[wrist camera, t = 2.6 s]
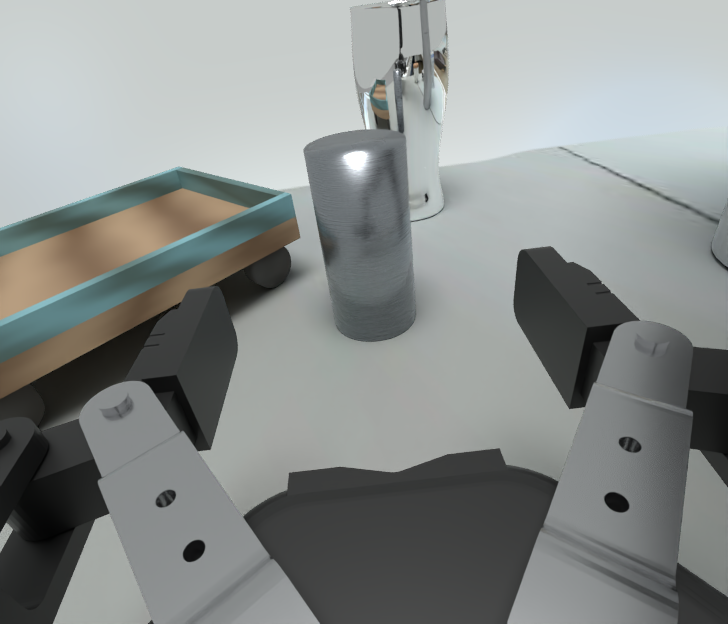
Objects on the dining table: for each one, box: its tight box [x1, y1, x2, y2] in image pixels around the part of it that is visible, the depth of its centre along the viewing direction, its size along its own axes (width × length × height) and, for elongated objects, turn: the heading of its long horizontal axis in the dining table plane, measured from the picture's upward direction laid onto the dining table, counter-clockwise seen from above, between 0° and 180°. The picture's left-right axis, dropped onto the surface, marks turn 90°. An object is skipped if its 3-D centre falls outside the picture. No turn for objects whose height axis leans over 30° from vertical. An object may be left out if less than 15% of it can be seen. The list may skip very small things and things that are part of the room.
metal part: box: [304, 129, 416, 341], centre depth 24 cm, size 5×5×10 cm
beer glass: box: [350, 0, 449, 221], centre depth 35 cm, size 7×7×15 cm
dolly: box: [0, 167, 300, 426], centre depth 28 cm, size 20×14×6 cm
